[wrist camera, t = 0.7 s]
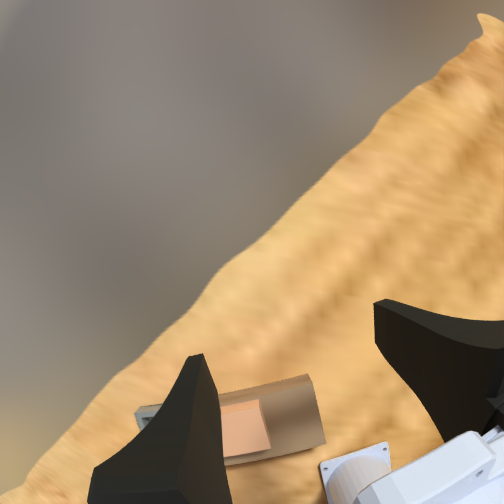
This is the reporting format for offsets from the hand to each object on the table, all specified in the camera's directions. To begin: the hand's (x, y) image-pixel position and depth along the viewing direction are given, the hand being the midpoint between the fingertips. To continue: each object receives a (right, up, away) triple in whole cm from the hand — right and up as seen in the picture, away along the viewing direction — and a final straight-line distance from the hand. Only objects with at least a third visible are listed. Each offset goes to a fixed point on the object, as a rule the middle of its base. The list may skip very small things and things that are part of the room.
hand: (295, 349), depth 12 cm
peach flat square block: (-3, -12, +15) cm, 19 cm away
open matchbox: (0, -13, +18) cm, 22 cm away
